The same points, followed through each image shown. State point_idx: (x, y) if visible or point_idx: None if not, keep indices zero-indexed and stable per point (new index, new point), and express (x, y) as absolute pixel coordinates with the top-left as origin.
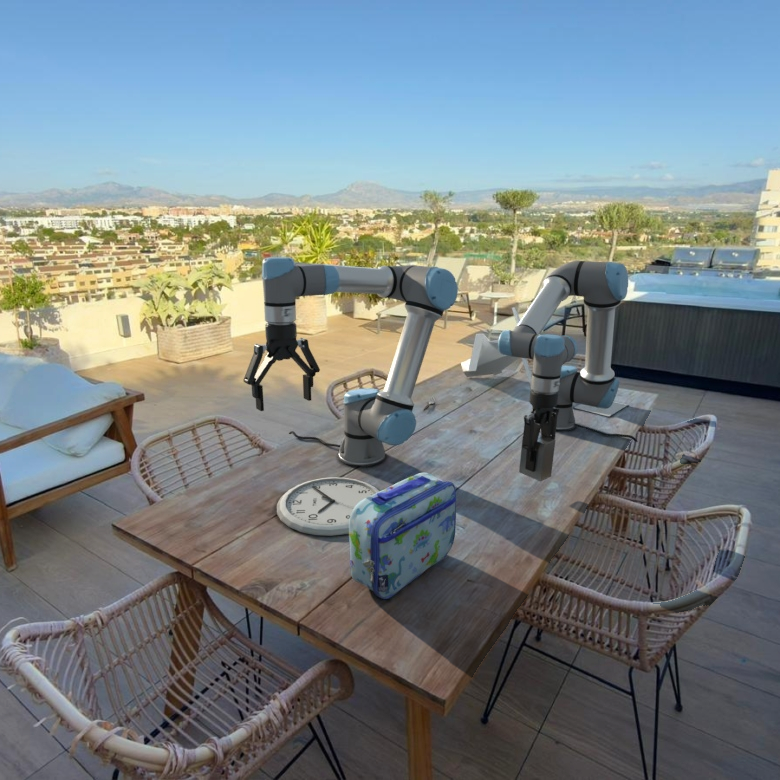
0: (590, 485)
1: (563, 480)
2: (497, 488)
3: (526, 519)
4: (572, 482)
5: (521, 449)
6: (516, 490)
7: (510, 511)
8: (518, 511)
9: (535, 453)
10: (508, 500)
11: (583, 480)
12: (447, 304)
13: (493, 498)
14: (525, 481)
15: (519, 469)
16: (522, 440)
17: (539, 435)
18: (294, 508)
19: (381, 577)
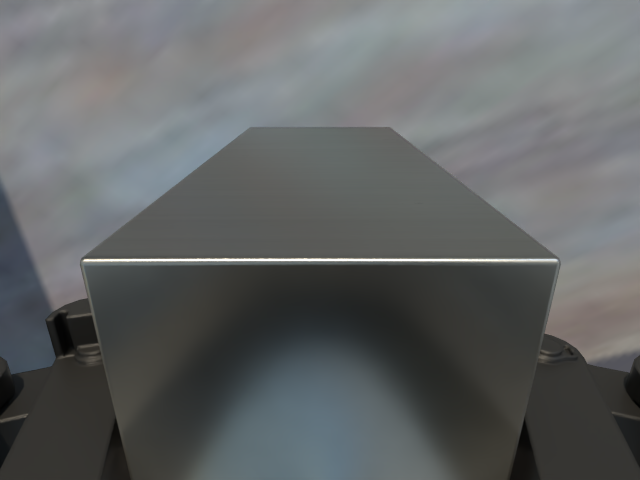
0: (587, 349)
1: (549, 239)
2: (131, 46)
3: (50, 346)
4: (558, 281)
5: (191, 173)
6: (219, 143)
7: (25, 265)
8: (63, 287)
9: None
10: (91, 190)
11: (624, 302)
12: None
13: (23, 120)
14: (364, 102)
15: (246, 131)
16: (129, 224)
17: (459, 447)
18: None
19: None
